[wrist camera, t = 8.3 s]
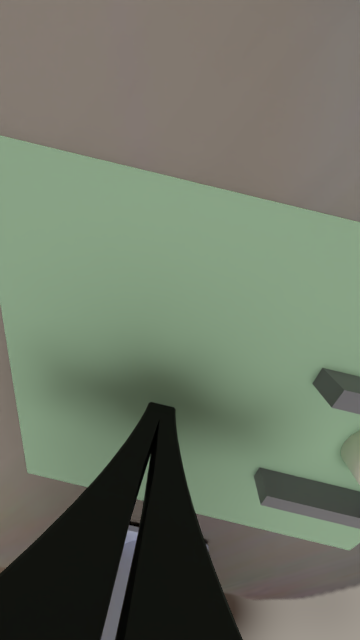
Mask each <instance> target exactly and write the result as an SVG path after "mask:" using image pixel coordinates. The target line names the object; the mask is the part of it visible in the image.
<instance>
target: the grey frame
mask: <svg viewBox="0 0 360 640" xmlns="http://www.w3.org/2000/svg"><path fill="white" fill-rule="evenodd" d="M312 384H313V385H314V386H315V388H316V389H317V390H318V391H319V393H320V394H321V395H322V396H323V398H324V399H325V400H326V401H327V403H328V404H329V405H330V406H331V408H335V409H339V410H343V411H347V412H351V413H356V414H360V377H359V376H355V375H351V374H346V373H342V372H338V371H334V370H330V369H326V368H322V369H321V371H320V372H319V374H318V375H317V377H316V379H315V380H314V382H313V383H312ZM254 480H255V484H256V488H257V492H258V497H259V501H260V505H262V506H266V507H271V508H275V509H279V510H283V511H287V512H291V513H295V514H300V515H304V516H308V517H312V518H316V519H320V520H324V521H329V522H333V523H337V524H341V525H345V526H349V527H354V528H358V529H360V491H356V490H352V489H348V488H343V487H339V486H335V485H331V484H327V483H323V482H318V481H314V480H310V479H306V478H302V477H298V476H294V475H289V474H285V473H281V472H277V471H273V470H269V469H265V468H260V467H259V469H258V470H257V472H256V474H255V475H254Z"/></svg>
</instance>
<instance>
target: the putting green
mask: <svg viewBox="0 0 360 640" xmlns="http://www.w3.org/2000/svg"><path fill="white" fill-rule="evenodd" d="M0 304H1V310H2V317H3V323H4V329H5V335H6V342H7V348H8V354H9V360H10V367H11V373H12V379H13V385H14V392H15V398H16V404H17V410H18V417H19V423H20V429H21V435H22V442H23V448H24V454H25V460H26V467H27V473H30V474H35V475H39V476H43V477H47V478H51V479H55V480H59V481H64V482H68V483H72V484H76V485H80V486H84V487H89V485H90V484H91V483H92V482H93V481H94V480H95V479H96V478H97V476H98V475H99V474H100V473H101V472H102V471H103V469H104V468H105V467H106V466H107V465H108V463H109V462H110V461H111V460H112V458H113V457H114V456H115V455H116V453H117V452H118V451H119V449H120V448H121V447H122V445H123V444H124V443H125V441H126V440H127V439H128V437H129V436H130V434H131V433H132V431H133V430H134V428H135V427H136V425H137V424H138V422H139V421H140V419H141V417H142V415H143V414H144V412H145V410H146V408H147V406H148V403H150V402H154V403H158V404H162V405H166V406H171V407H174V408H175V409H176V427H177V436H178V442H179V448H180V453H181V459H182V464H183V468H184V472H185V477H186V481H187V485H188V489H189V492H190V496H191V500H192V503H193V507H194V510H195V513H196V514H201V515H205V516H209V517H213V518H217V519H221V520H226V521H230V522H234V523H238V524H242V525H246V526H250V527H255V528H259V529H263V530H267V531H271V532H275V533H279V534H284V535H288V536H292V537H296V538H300V539H304V540H309V541H313V542H317V543H321V544H325V545H329V546H333V547H338V548H342V549H346V550H351V549H352V548H353V547H355V546H356V545H357V544H359V543H360V529H358V528H354V527H349V526H345V525H341V524H337V523H333V522H329V521H324V520H320V519H316V518H312V517H308V516H304V515H300V514H295V513H291V512H287V511H283V510H279V509H275V508H271V507H266V506H262V505H260V501H259V497H258V492H257V488H256V484H255V480H254V475H255V474H256V472H257V470H258V469H259V467H260V468H265V469H269V470H273V471H277V472H281V473H285V474H289V475H294V476H298V477H302V478H306V479H310V480H314V481H318V482H323V483H327V484H331V485H335V486H339V487H343V488H348V489H352V490H356V491H360V485H359V484H358V482H357V481H356V479H355V478H354V476H353V474H352V473H351V471H350V470H349V468H348V467H347V465H346V464H345V462H344V461H343V459H342V457H341V448H342V446H343V444H344V442H345V441H346V440H347V439H348V438H349V437H350V436H351V435H353V434H354V433H356V432H358V431H360V414H356V413H351V412H347V411H343V410H339V409H335V408H331V406H330V405H329V404H328V403H327V401H326V400H325V399H324V398H323V396H322V395H321V394H320V393H319V391H318V390H317V389H316V388H315V386H314V385H313V384H312V383H313V382H314V380H315V379H316V377H317V375H318V374H319V372H320V371H321V369H322V368H326V369H330V370H334V371H338V372H342V373H346V374H351V375H355V376H359V377H360V222H357V221H352V220H348V219H344V218H340V217H336V216H332V215H328V214H323V213H319V212H315V211H311V210H307V209H303V208H299V207H294V206H290V205H286V204H282V203H278V202H274V201H270V200H265V199H261V198H257V197H253V196H249V195H245V194H241V193H236V192H232V191H228V190H224V189H220V188H216V187H212V186H207V185H203V184H199V183H195V182H191V181H187V180H183V179H178V178H174V177H170V176H166V175H162V174H158V173H154V172H149V171H145V170H141V169H137V168H133V167H129V166H125V165H120V164H116V163H112V162H108V161H104V160H100V159H96V158H91V157H87V156H83V155H79V154H75V153H71V152H67V151H62V150H58V149H54V148H50V147H46V146H42V145H38V144H33V143H29V142H25V141H21V140H17V139H13V138H9V137H4V136H0ZM150 455H151V454H150ZM149 462H150V458H149V461H148V464H147V467H146V470H145V474H144V477H143V480H142V483H141V486H140V490H139V493H138V496H137V499H138V500H143V501H144V495H145V489H146V482H147V475H148V469H149Z"/></svg>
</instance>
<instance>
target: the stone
mask: <svg viewBox="0 0 360 640" xmlns="http://www.w3.org/2000/svg"><path fill="white" fill-rule="evenodd" d="M341 457H342V459H343V461H344V462H345V464H346V465H347V467H348V468H349V470H350V471H351V473H352V474H353V476H354V478H355V479H356V481H357V482H358V484H359V485H360V431H358V432H356V433H354V434H353V435H351V436H350V437H349V438H348V439H347V440H346V441H345V442H344V444H343V446H342V448H341Z"/></svg>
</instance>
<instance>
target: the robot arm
mask: <svg viewBox="0 0 360 640" xmlns="http://www.w3.org/2000/svg"><path fill="white" fill-rule="evenodd" d="M150 454H151V455H150ZM149 458H150V462H149V469H148V475H147V482H146V489H145V495H144V502H143V509H142V515H141V520H140V526H139V527H136V526H132V525H129V523H130V519H131V516H132V512H133V509H134V506H135V502H136V499H137V496H138V493H139V490H140V486H141V483H142V480H143V477H144V474H145V470H146V467H147V464H148V461H149ZM0 640H243V639H242V637H241V634H240V632H239V630H238V627H237V625H236V623H235V620H234V618H233V615H232V613H231V610H230V608H229V605H228V603H227V600H226V598H225V595H224V593H223V590H222V587H221V585H220V582H219V579H218V577H217V574H216V572H215V569H214V566H213V564H212V561H211V558H210V555H209V548H208V545H207V544H206V543H205V541H204V538H203V535H202V532H201V529H200V526H199V523H198V520H197V516H196V513H195V510H194V507H193V503H192V500H191V496H190V492H189V489H188V485H187V481H186V477H185V472H184V468H183V464H182V459H181V453H180V448H179V442H178V436H177V427H176V409H175V408H174V407H171V406H166V405H162V404H158V403H154V402H150V403H148V406H147V408H146V410H145V412H144V414H143V415H142V417H141V419H140V421H139V422H138V424H137V425H136V427H135V428H134V430H133V431H132V433H131V434H130V436H129V437H128V439H127V440H126V441H125V443H124V444H123V445H122V447H121V448H120V449H119V451H118V452H117V453H116V455H115V456H114V457H113V458H112V460H111V461H110V462H109V463H108V465H107V466H106V467H105V468H104V469H103V471H102V472H101V473H100V474H99V475H98V476H97V478H96V479H95V480H94V481H93V482H92V483H91V484H90V485H89V487H88V488H87V489H86V490H85V491H84V492H83V493H82V494H81V495H80V496H79V497H78V499H77V500H76V501H75V502H74V503H73V504H72V505H71V506H70V507H69V508H68V509H67V510H66V511H65V512H64V513H63V514H62V515H61V516H60V517H59V518H58V519H57V520H56V521H55V522H54V523H53V524H52V525H51V526H50V527H49V528H48V529H47V530H46V531H45V532H44V533H43V534H42V535H41V536H40V537H39V538H38V539H37V540H36V541H35V542H34V543H33V544H32V545H31V546H30V547H29V548H27V549H26V550H25V551H24V552H23V553H22V554H21V555H20V556H19V557H18V558H17V559H16V560H14V561H13V562H12V563H11V564H10V565H9V566H8V567H7V568H6V569H5V570H4V571H2V572H1V573H0Z"/></svg>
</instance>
